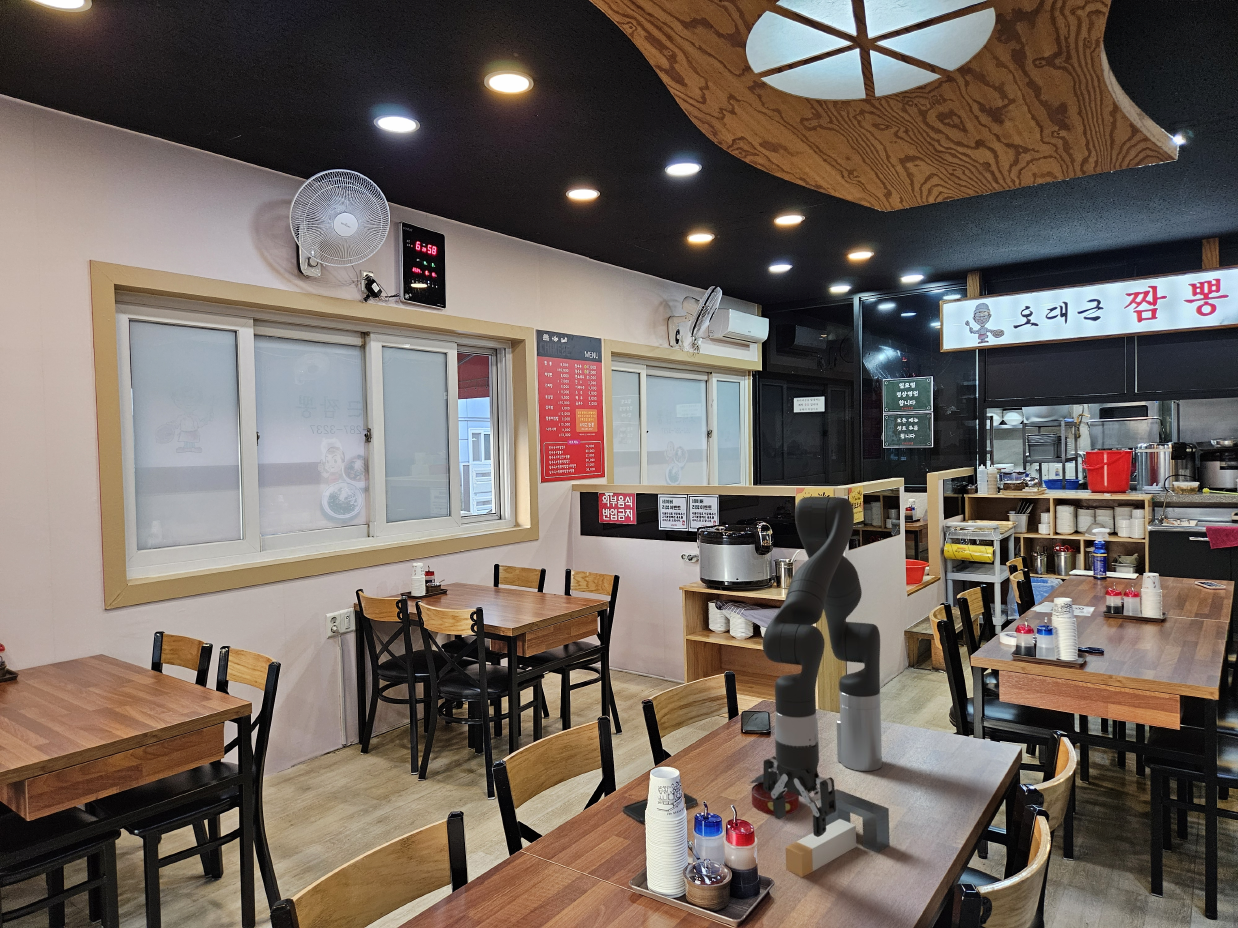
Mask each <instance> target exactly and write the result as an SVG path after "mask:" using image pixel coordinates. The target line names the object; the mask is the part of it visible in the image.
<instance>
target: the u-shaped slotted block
mask: <svg viewBox="0 0 1238 928" xmlns="http://www.w3.org/2000/svg"><path fill="white" fill-rule="evenodd" d="M835 800H836V812H834V813H832V814H830V815H829V816H827V817H826V826H827V825H829V824H831V823H833V822H835V821H837V820H839V819H841V820H844V821H846V822H849V823H851V824H852V821H851V814H852V815H854V816H857V817H860V818H862V847H863V848H865V849H868V850H869V851H872V852H874V853H879V852H882V850H885V849H886V848H888V847H890V844H891V843H890V811H889V809H890V808H888V807H886V806H884V805H881V804H878V803H876V802H873V801H870V800H868V799H865V798H862V797H859V796H857V795H854V794H851V793H848V792H846V791H844V790H840V789H838V788H835Z"/></svg>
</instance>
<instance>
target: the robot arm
mask: <svg viewBox="0 0 1238 928" xmlns="http://www.w3.org/2000/svg"><path fill="white" fill-rule="evenodd" d="M794 519H795V521H794V522H795V527H796V529H797V534H798V535H799V536H798V537H799V538H800V541H801V544H802V547H803V548H804V551H805V553H806V555H807V558H808V559H807V560H806V561H805V562H803V563H802V564H801V565H800V566H799V567H798V568H797V569H796V570H795V572H794V574H793V576H792V577H791V580H790V582H789V584H788V585H789V586H788V590H787V591H786V595H785V599H784V602H783V603H782V605H781V607H780V608H779V609H778V611H777V612H776V614H775V615H774V616H773V617H772V619H771V620H770V622H769V624H768V625H767V627H766V629H765V631H764V633H763V636H762V650H763V653H764V654H765V656H766V658H767V659H768V660H770V662H774V663H778V664H784V665H785V664H787V665H793V666H794V665H796V666H801V671H800V672H799V673H792V674H786V675H782V676H779V677H778V678H777V679H776V680H775V683H774V696H775V697H774V698H775V701H774V702H775V714H774V715H775V716H774V748H775V749H774V750H775V756H771V757H769V758H766V759H764V760H763V773H762V774H763V789H764V791H765V792H769V793H770V794H771V796H772V798H773V812H774V814H773V815H774V817H775V819H777V820H778V821H779V820H782V819H784V818H785V817H786V815H787V814H786V806H785V796H783V794H785V792H786V791H787V790H788V792H791V793H796V794H797V795H798V796H799V797H801V798H803V800H804V802H805V804H806V805H808V806H809V807H810V809H811V811H812V813H813V815H812V829H813V830H812V831H813V832H812V833H813V834H814V836H816V837H819V836H821V835H823V834H824V833H825V832H826V817H827V816H829V815H830V814H832V813H834V812H836V800H835V790H836V788H835V781H834V780H835V779H834V778H833V777H831V776H829V777H827V778H825V777H822V776H820V775H819V772H818V766H819V762H820V750H819V723H818V718H817V700H816V694H817V693H816V688H817V682H818V681H817V680H818V675H819V670H820V665H821V662H822V658H823V655H824V652H825V645H826V644H825V643H826V642H825V638H824V635H823V633H822V631H821V630H820V629H819V628H818V627H817V626H815V624H817V623H818V622H819V621H821V618H822V615H823V612H824V615H825V619H826V624H827V630H828V635H829V636H828V637H829V640H830V642H829V643H830V648H831V650H832V654H833V656H834V657H835V658H836V659H837V660H839V661H841V662H847V663H848V662H849V663H857V664H858V663H860V664H863V665H864V667H863V668H862V669H860V670H858V671H854V672H852V673H847V674H844V675H843V676H841V677H840V678H839V681H838V690H839V691H838V693H839V696H838V697H839V720H837V721H836V750H837V751H836V752H837V753H836V754H837V762H838V763H841V764H842V765H843V766H844V767H846V768H848V769H851V770H855V771H860V772H861V771H862V772H870V771H876V770H879V769H880V768H881V767H882V766H883V760H882V759H883V755H882V718H881V717H882V714H881V713H882V711H881V677H880V674H881V671H880V669H881V668H880V667H881V666H880V665H881V664H880V661H881V658H880V657H881V633H880V629H879V627H878V626H877V624H874V623H868V622H857V621H856V622H854V621H853V622H852V621H846V619H847V618H848V617H849V616H850V615H851V614H852V613H853V612H854V610H855V609H856V608H857V607H858V605H859V603H860V602H861V599H862V586H861V582H860V578H859V577H860V576H859V574H858V571H857V569H856V567H855V565H854V564H853V563H852V562H851V561H850V559H848V558H847V557H846V556H844V554H845V551H846V549H847V546H848V544H849V542H850V539H851V537H852V535H853V531H854V524H855V513H854V507H853V504H852V502H851V501H850V500H849V499H848V498H846V497H843V496H842V497H841V496H805V497H802V498H800V499H799V500H798V501H797V503H796V506H795V509H794ZM777 772H778V773H779V775H780V777H781V779H780V780H779V781H778V783H777ZM811 793H813V796H811Z"/></svg>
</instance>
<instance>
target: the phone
mask: <svg viewBox="0 0 1238 928" xmlns="http://www.w3.org/2000/svg"><path fill="white" fill-rule="evenodd" d="M684 798H685V804H686V808H687V809H690V807H691V808H692V806H693V807H695V806H694V805H696V804H697V805H698V799H697V798H695V797H693V796H692V795H689V794H687V793H686V792H684ZM697 805H696V806H697ZM646 806H647V798H645V799H642V800H638V801H636V802H633V803H630V804H627V805H624V806H623V807H622V813H623V814H624V815H626V816H628V817H629V818H631V819H632V820H633V821H636V822H637V823H639V824H641V825H642V824H643V825H644V822H645V810H646ZM688 807H689V808H688ZM687 809H686V810H687Z"/></svg>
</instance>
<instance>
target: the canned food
mask: <svg viewBox="0 0 1238 928" xmlns="http://www.w3.org/2000/svg"><path fill="white" fill-rule="evenodd" d="M780 779H781V777H780V775H779V773H778V771H777V783H778V781H779V780H780ZM749 783H750V784H753V786H752V787H751V805H752V806H753V808H754V809H756V810H757V811H759V812H762V813H765V814H769V815H775V814H774V812H773V798H772V796H771V794H770V793H769V792H765V791H764V789H763V773H761V774H760V775H758V776H756V777H755V778H754V779H752V780H751V781H750V782H749ZM783 796H785V806H786V815H787V814H788V815H789V814H792V813H794V812H797V810H799V808H800V796H798V795H797V794H796V793H791V792H788V790H787V791H786V792H785V794H783Z"/></svg>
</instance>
